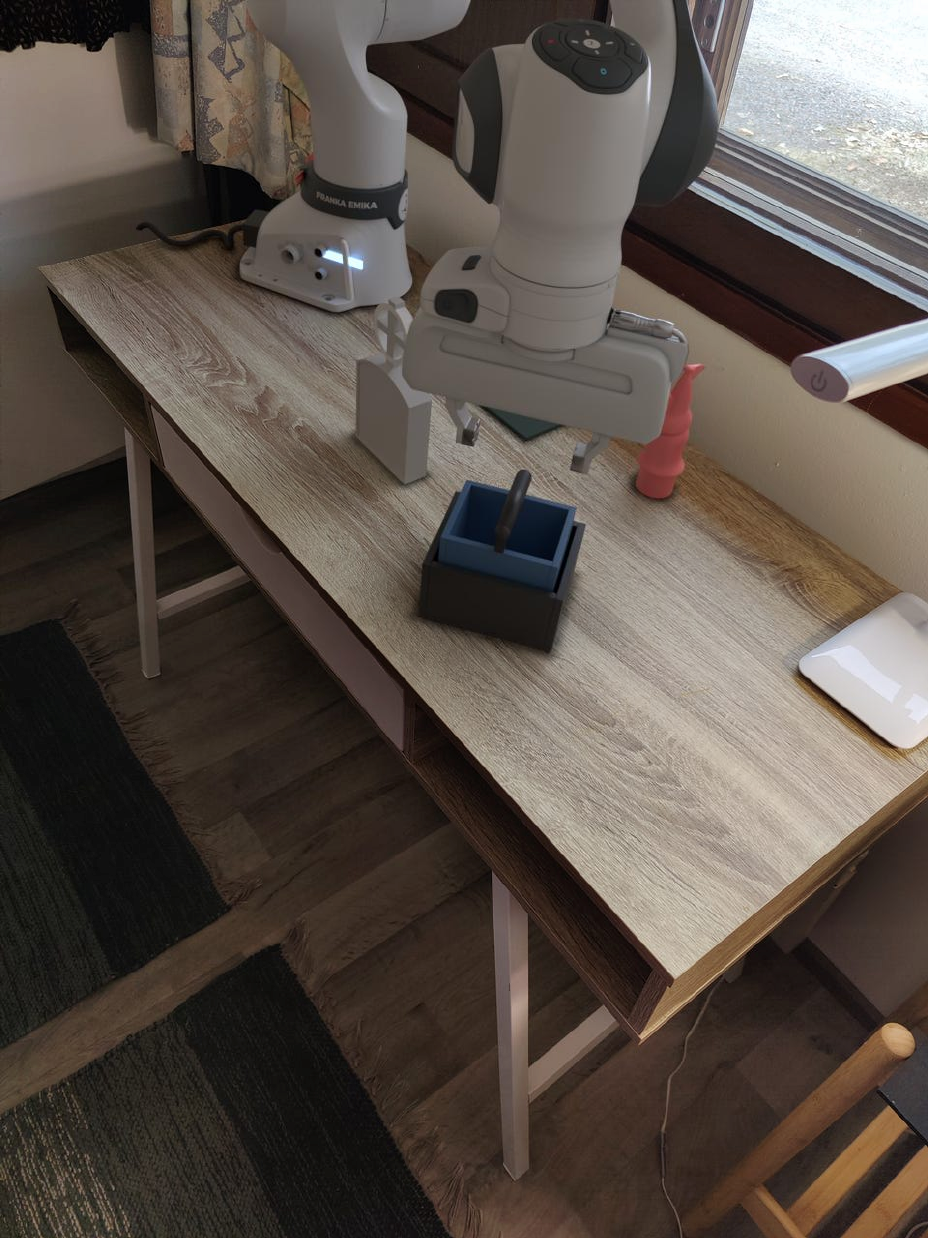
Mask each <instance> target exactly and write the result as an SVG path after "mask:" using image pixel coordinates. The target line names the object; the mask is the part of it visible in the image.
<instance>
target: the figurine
mask: <svg viewBox="0 0 928 1238" xmlns="http://www.w3.org/2000/svg"><path fill="white" fill-rule="evenodd" d="M705 369H706V366H705V365H703V364H702V363H694V364H690V363H688V364H687V363H686V365H685V368H684V371H683V372H682V374H681V375H680V376H679V377H678V379H677V381H676V382H675V384H674V386H673V388H672V389H671V390H670V395H669V400H668V405H667V410H666V415H665V419H664V423H663V427H662V430H661V434H660V436H659V437H658V438H656V439H655V440H653V441H652V442H650V443H648V444H644V448H643V449H642V450H641V451H640V452H639V454H638V456H637V463H638V465H639V470H638V473H637V477H636V480H635V486H636V489H637V490H638V491H639V492H640V493H641V494H643V495H644V496H647V497H649V498H652V499H664V498H667V497H669V496H671V494H672V492H673V489H674V486H675V484H676V480H677V477H678V476H680V475H681V474H682V473H684V471H685V467H686V465H685V461H684V459H683V452H684V450H685V447H686V445H687V443H688V440H689V437H690V428H691V426H692V422H693V413H692V410H691V409H690V408H691V404H692V400H693V394H694V388H693V387H694V386H693V381H694V380H695V379H696V378H697V376H699V374H700V373H702V371H704V370H705Z"/></svg>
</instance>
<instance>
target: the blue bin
mask: <svg viewBox="0 0 928 1238" xmlns="http://www.w3.org/2000/svg"><path fill="white" fill-rule="evenodd" d="M515 474H516V475H515V477H514V479H513V481H512V484H511V486H510V489H506V488H501V487H498V486H493V485H490V484H485V483H481V482H479V481H474V480H470V479H466V480H465V481H464V484H463V486H462V488H461V491H460V492H461V493H460V495H459V497H458V499H457V502H456V504H455V506H454V508H453V511H452V513H451V515H450V517H449V519H448V522H447V524H446V526H445V528H444V530H443V533H442V535H441V537H440V547H439V557H438V562H439V563H443V564H447V565H450V566H454V567H458V568H462V569H466V570H469V571H473V572H477V573H481V574H484V575H488V576H492V577H496V578H500V579H503V580H507V581H511V582H515V583H519V584H522V585H526V586H530V587H534V588H538V589H541V590H545V591H549V592H553V593H556V590H557V586H558V583H559V580H560V577H561V573H562V569H563V564H564V560H565V556H566V552H567V547H568V543H569V539H570V534H571V530H572V526H573V522H574V521H575V517H576V513H577V506H572V505H569V504H565V503H561V502H557V501H553V500H549V499H546V498H541V497H537V496H534V495H530V494H529V495H528V494H527V493H528V490H529V487H530V485H531V482H532V479H533V478H532V473H531V472H530V471H529V470H527V469H520V470H518V471H517V472H516V473H515Z"/></svg>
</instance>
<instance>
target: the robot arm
mask: <svg viewBox="0 0 928 1238" xmlns="http://www.w3.org/2000/svg"><path fill="white" fill-rule="evenodd" d="M244 3H245V6H246V10H247V12H248V14H249V16H250V18H251V21H252V22H253V24H254V25H255V27H256V29H257V30H258V31H259V32H260V34H261V35H262V36H263V37H264V38H265V39H266V41H268V42H269V43H270V44H272V45H273V46H274V47H276V48H277V49H278V50H279V51H280V52H281V53H282V54H283V55H284V56H285V57H286V58H287V59H288V60H289V62H290V63H291V64H292V66H293V67H294V69H295V71H296V72H297V74H298V75H299V78H300V79H301V82H302V84H303V87H304V91H305V93H306V96H307V100H308V104H309V113H310V123H311V137H312V152H311V153H310V154H309V155H308V156H307V158H306V162H305V163H304V164H303V165H301V166H300V168H299V172H297V174H296V175H295V176H294V178H293V179H294V180H295V182H294V187H295V188H297V187H298V186H299V187H300V190H298V191H297V192H296V193H294V194H292V195H291V196H289V197H288V198H286V199H284V200H283V201H282V202H280V203H279V204H277V205H276V206H275V207H273V208H272V209H271V210H270V211H266V210H261V209H256V208H255V209H254V210H253V211H252V213H251V214H249V216H248V217H247V218H246V219H245V220H244V221H243V222H242V223H241V224H237V225H234V226H232V227H230V229H229V230H228V232H227V234H226V233H225V232H224V231H222V230H219V229H208V230H204V231H202V232H201V233H198V234H197V235H195V236H193V237H191V238H189V239H185V240H177V239H173V238H170V237H168V236H167V235H165V234H164V233H162V231H161V230H159V228H157V226H155V225H154V224H153V223H151V222H149V221H142V222H140V223H139V224H138V225H137V226H136V227H135V230H136V231H143V230H144V229H148V230H150V231H151V232H152V233H153V234H154V235H155V236H156V237H157V238H158V239H159V240H160V241H162V242H164V243H165V244H167V245H168V246H172V247H177V248H187V247H191V246H193V245H196V244H197V243H199V242H201V241H202V240H205V239H207V238H209V237H219V238H221V239H222V241H223V243H224V245H225V248H226V249H227V250H230V251H231V250H232V249H234V248H235V235H236V234H237V233H238V232H242V241H243V246H245V247H248V249H246V250H245V252H244V253H243V254H242V257H241V259H240V262H239V276H240V278H241V279H242V280H243V281H245V282H247V283H251V284H253V285H257V286H259V287H262V288H265V289H268V290H270V291H273V292H276V293H278V294H282V295H284V296H287V297H290V298H292V299H296V300H298V301H301V302H304V303H306V304H309V305H312V306H315V307H316V308H319V309H323V310H326V311H327V312H328V311H329V312H332V313H342V312H345V311H348V310H351V309H354V308H358V307H366V306H367V307H368V306H376V305H377V306H378V305H379V304H381V303H384V302H388V299H390V298H393V297H397V296H399V297H400V298H401V297H402V296H404V295H406V294H407V293H408V292H409V290H411V288H412V285H413V276H412V273H411V269H410V265H409V258H408V252H407V243H406V232H405V231H406V228H405V222H406V220H407V215H408V209H409V208H408V206H409V174H408V170H407V169H406V154H407V153H406V151H407V150H406V149H407V134H408V133H407V131H408V111H407V107H406V105H405V102H404V100H403V98H402V96H401V94H400V93H399V92H398V90H397V89H395V87H394V86H393V85H391V84H390V83H388V81H386V80H384V79H382V78H380V77H379V76H377V75H375V74H373V73H371V72H369V71H368V68H367V67H368V66H367V60H366V57H367V56H366V55H367V53H366V52H367V48H368V46H371V45H378V44H389V43H391V44H392V43H400V42H413V41H422V40H424V39H427V38H430V37H433V36H436V35H440V34H441V33H444V32H447V31H449V30H452V29H454V28H456V27H458V26H459V25H460V24H461V22H462V21H463V19H464V17H465V16H466V14H467V12H468V9H469V6H470V4H471V0H244ZM688 3H689V2H688V0H609V5H610V9H611V13H612V14H611V15H612V18H613V23H614V26H613V25H610V24H607V23H605V22H602V21H600V20H599V21H598V20H595V19H587V18H561V19H555V20H552V21H549V22H547V23H543V24H542V25H540V26H539V27H537V28H535V29H534V30H533V31H532V32H531V33H530V34H529V36H528V37H527V38H526V40H525V42H524V43H515V44H512V43H511V44H504V45H498V46H495V47H488V48H487V49H485V50H484V51H482V52H481V53H480V54H479V55H478V56H477V57H476V58H475V59H474V60H473V61H472V63H470V65H469V66H468V67H467V69H466V70H465V71H464V73H463V74H462V76H461V77H460V78H459V79H458V81H457V85H456V99H455V111H454V122H453V136H452V162H453V166H454V168H455V171H456V172H457V174H458V175H460V177H462V179H463V180H464V181H465V182H466V183H467V184H468V185H469V186H470V187H471V188H472V189H473V191H474V192H475V193H476V194H477V195H478V196H479V197H480V198H481V199H482V200H483V201H484V202H485V203H486V204H488V205H491V204H492V205H494V206H496V207H497V208H498V211H499V223H498V227H497V231H496V234H495V236H494V238H493V241H492V244H487V245H477V246H470V247H458V248H452V249H449V250H447V251H446V252H445V253H444V254H443V255H442V256H441V257H440V258H439V259H438V260H437V262H436V263H435V264H434V265H433V266H432V268H431V270H430V271H429V273H428V275H427V276H426V278H425V280H424V282H423V285H422V288H421V290H420V293H419V294H420V295H419V302H420V303H419V304H420V307H419V308H418V310H417V312H416V313H415V315H414V317H412V318H413V320H412V322H411V324H410V326H409V330H408V333H407V338H406V342H405V348H404V349H403V353H404V354H403V363H402V376H403V378H404V379H405V381H406V382H407V384H408V385H409V386H410V388H412V389H414V390H417V391H422V392H426V393H429V395H435V396H438V397H439V396H440V397H443V398H445V406H444V407H445V409H446V411H447V413H448V415H449V417H450V418H451V420H452V422H453V424H454V426H455V427H456V434H455V435H456V436H455V443H456V444H460V445H463V446H468V447H472V448H474V447H475V446H476V442H477V441H478V437H479V434H480V429H479V428H480V426H481V418H477V417H474V416H472V415H471V412H470V411H469V408H468V405H467V404H466V403H469V404H472V405H476V406H482V407H483V406H485V407H489V408H493V409H498V410H502V411H506V412H510V413H514V414H519V415H523V416H527V417H531V418H535V419H540V420H544V421H548V422H552V423H556V424H561V425H562V426H565V427H568V428H569V427H570V428H573V429H577V430H582V431H586V432H590V433H592V436H591V439H590V441H588V443H583V442H578V441H577V442H576V445H575V447H574V451H573V454H572V457H571V463H570V468H569V471H572V472H574V473H579V474H583V475H586V476H587V475H588V474H589V472H590V468H591V465H592V460H594V459H595V458H597V457H598V456H599V455H600V454H602V452H603V451H605V450H606V449H607V448H608V447H609V446H610V442H611V439H612V438H615V439H620V440H624V441H627V442H633V443H637V444H642V445H646V444H648V443H650V442H652V441H653V440H655V439H656V438H658V437H659V436H660V434H661V430H662V427H663V423H664V419H665V415H666V410H667V405H668V400H669V395H670V393H671V388H672V382H674V381H676V380H678V379H679V378H680V377H681V375H682V374H683V373H684V368H685V365H687V361H688V357H689V354H690V344H689V341H688V339H687V337H686V336H685V335H684V334H683V332H681V331H680V330H678V329H676V328H675V324H674V323H673V322H670V321H668V320H665V319H661V318H660V319H659V318H656V319H654V318H648V317H645V316H642V315H639V314H637V313H633V312H629V311H624V310H620V309H615V308H613V302H614V298H615V294H616V289H617V284H618V280H619V276H620V272H621V271H620V270H621V268H622V267H621V265H622V259H623V254H622V234H623V230H624V227H625V224H626V222H627V220H628V218H629V216H630V214H631V212H632V211H633V208H634V206H636V205H637V206H645V207H655V208H662V207H665V206H667V205H669V203H671V202H673V201H674V200H675V199H676V198H678V197H679V196H680V195H681V194H682V193H684V192H685V191H686V190H687V189H689V187H691V185H692V184H693V183H694V182H695V181H696V180H697V179H698V177H699V176H700V175H701V174H702V173H703V172H704V170H705V169H706V167H707V166H708V165H709V163H710V161H711V159H712V157H713V154H714V152H715V147H716V143H717V139H718V132H719V106H718V105H719V104H718V100H717V99H718V97H717V93H716V90H715V86H714V83H713V80H712V77H711V74H710V71H709V69H708V67H707V64H706V62H705V59H704V57H703V54H702V52H701V51H702V50H701V49H700V46H699V43H698V40H697V37H696V34H695V31H694V30H695V29H694V26H693V21H692V18H691V14H690V13H691V12H690V8H689V4H688ZM672 335H673V336H672Z"/></svg>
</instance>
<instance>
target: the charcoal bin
mask: <svg viewBox="0 0 928 1238" xmlns="http://www.w3.org/2000/svg"><path fill="white" fill-rule="evenodd" d="M460 493H461V491H457V490H455V492H454V494H453V496H452V498H451V500H450V503H449V505H448V506H447V509H446V511H445V513H444V516H443V517H442V520H441V522H440V524H439V527H438V528H437V531H436V533H435V535H434V538H433V540H432V542H431V544H430V546H429V548H428V550H427V552H426V555H425V556H424V560H423V561H422V563H421V574H420V575H421V576H420V587H419V600H418V612H417V617H418V618H422V619H424V620H428V621H432V622H436V623H439V624H444V625H448V626H451V627H455V628H459V629H462V630H464V631H465V630H466V631H469V632H473V633H476V634H479V635H484V636H487V637H491V638H495V639H498V640H502V641H506V642H510V643H513V644H517V645H521V646H524V647H527V648H532V649H536V650H538V651H544V652H546V653H552V649H553V646H554V643H555V639H556V636H557V632H558V629H559V626H560V622H561V619H562V615H563V611H564V608H565V605H566V602H567V599H568V596H569V591H570V588H571V585H572V581H573V578H574V573H575V570H576V566H577V562H578V558H579V554H580V549H581V546H582V541H583V539H584V535H585V529H586V525H587V523H584V522H580V521H578V520H577V521H576V520H574V522H573V526H572V530H571V534H570V539H569V543H568V547H567V552H566V556H565V560H564V564H563V569H562V573H561V577H560V580H559V583H558V586H557V590H556V593H553V592H549V591H545V590H541V589H538V588H534V587H530V586H526V585H522V584H519V583H515V582H511V581H507V580H503V579H500V578H496V577H492V576H488V575H484V574H481V573H477V572H473V571H469V570H466V569H462V568H458V567H454V566H450V565H447V564H443V563H439V562H438V557H439V547H440V537H441V535H442V533H443V530H444V528H445V526H446V524H447V522H448V519H449V517H450V515H451V513H452V511H453V508H454V506H455V504H456V502H457V499H458V497H459V495H460Z"/></svg>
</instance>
